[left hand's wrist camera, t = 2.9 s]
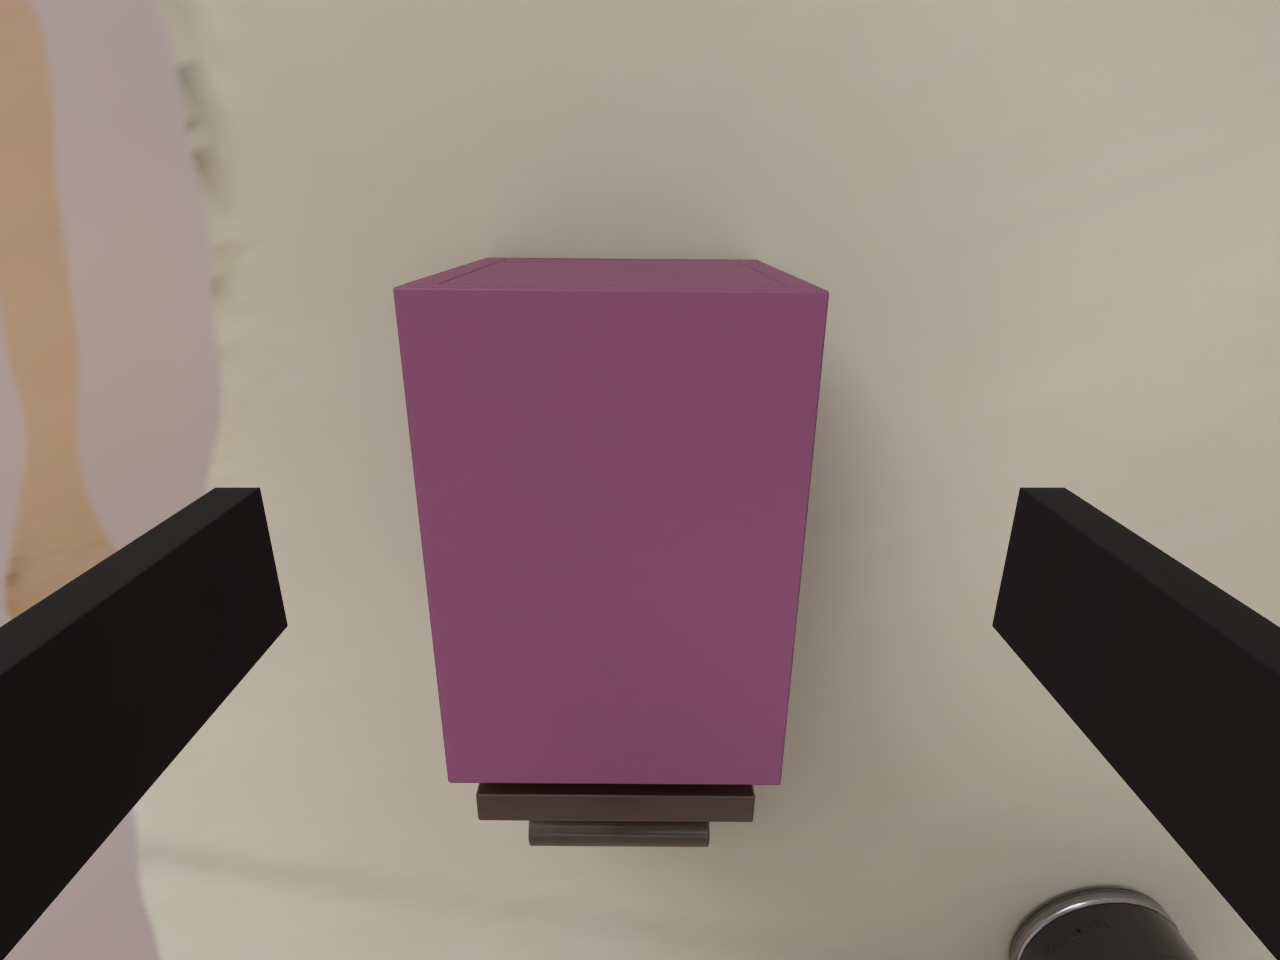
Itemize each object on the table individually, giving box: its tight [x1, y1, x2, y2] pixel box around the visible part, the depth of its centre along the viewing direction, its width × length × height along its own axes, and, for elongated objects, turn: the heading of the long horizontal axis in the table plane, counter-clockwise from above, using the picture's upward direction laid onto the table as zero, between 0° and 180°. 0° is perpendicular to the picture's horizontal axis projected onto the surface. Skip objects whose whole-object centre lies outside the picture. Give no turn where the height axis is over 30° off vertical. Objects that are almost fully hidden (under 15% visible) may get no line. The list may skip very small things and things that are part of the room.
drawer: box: [476, 783, 755, 847], centre depth 28 cm, size 20×10×10 cm, turn 0°
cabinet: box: [394, 258, 829, 785], centre depth 26 cm, size 16×11×12 cm
